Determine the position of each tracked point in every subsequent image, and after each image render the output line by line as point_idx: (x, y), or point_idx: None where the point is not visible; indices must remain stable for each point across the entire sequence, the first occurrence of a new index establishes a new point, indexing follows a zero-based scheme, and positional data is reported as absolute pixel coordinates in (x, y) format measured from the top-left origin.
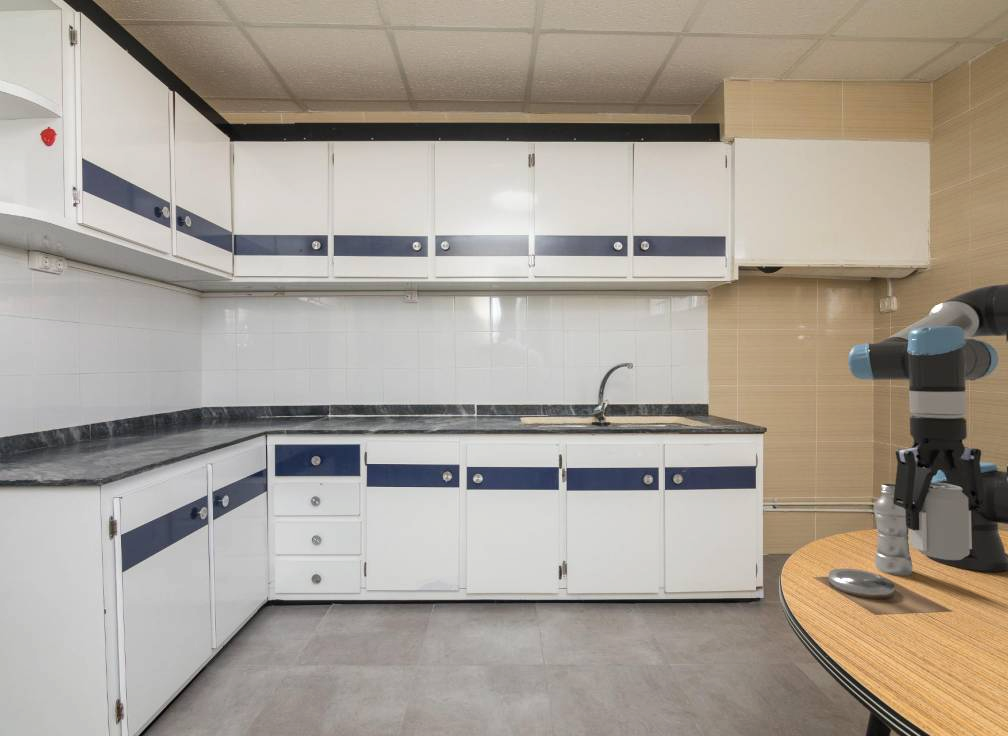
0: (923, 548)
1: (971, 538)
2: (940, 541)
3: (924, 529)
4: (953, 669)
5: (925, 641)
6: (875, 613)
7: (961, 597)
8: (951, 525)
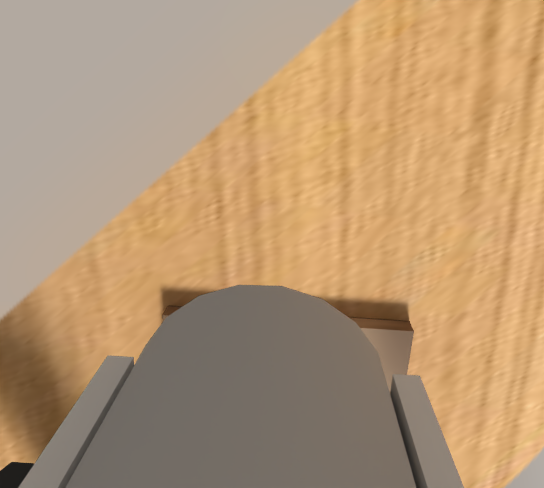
0: (418, 385)
1: (82, 394)
2: (367, 372)
3: (444, 480)
4: (450, 56)
5: (375, 204)
6: (405, 336)
7: (37, 395)
8: (322, 427)
